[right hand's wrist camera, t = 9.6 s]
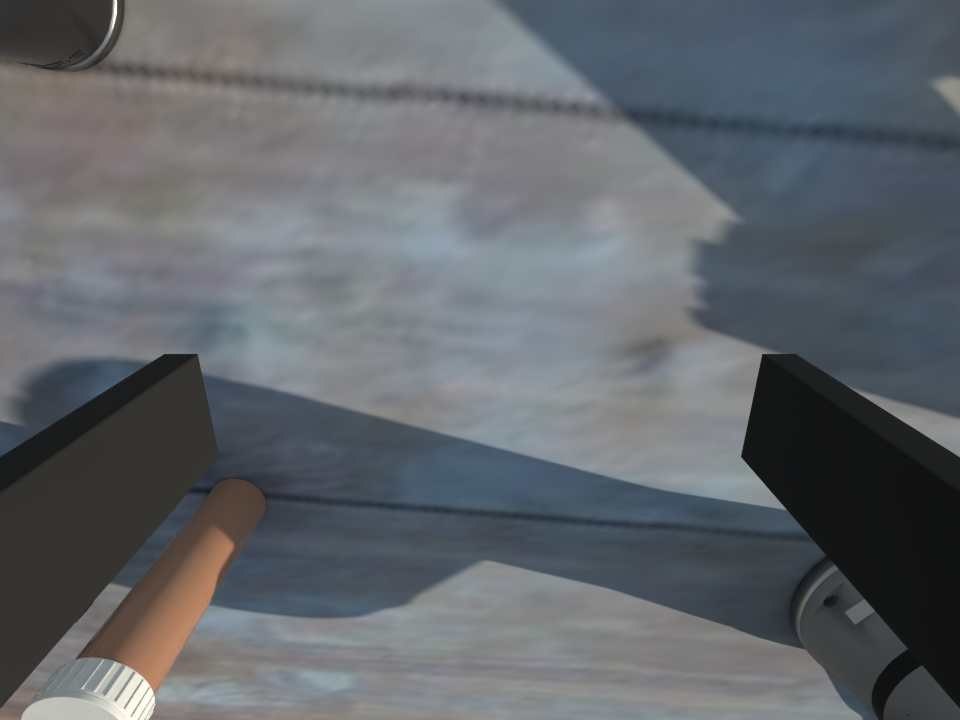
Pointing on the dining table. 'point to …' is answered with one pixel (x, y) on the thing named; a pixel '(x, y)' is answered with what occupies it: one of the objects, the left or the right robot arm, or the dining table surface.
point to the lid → (92, 693)
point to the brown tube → (180, 583)
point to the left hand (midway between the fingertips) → (62, 565)
